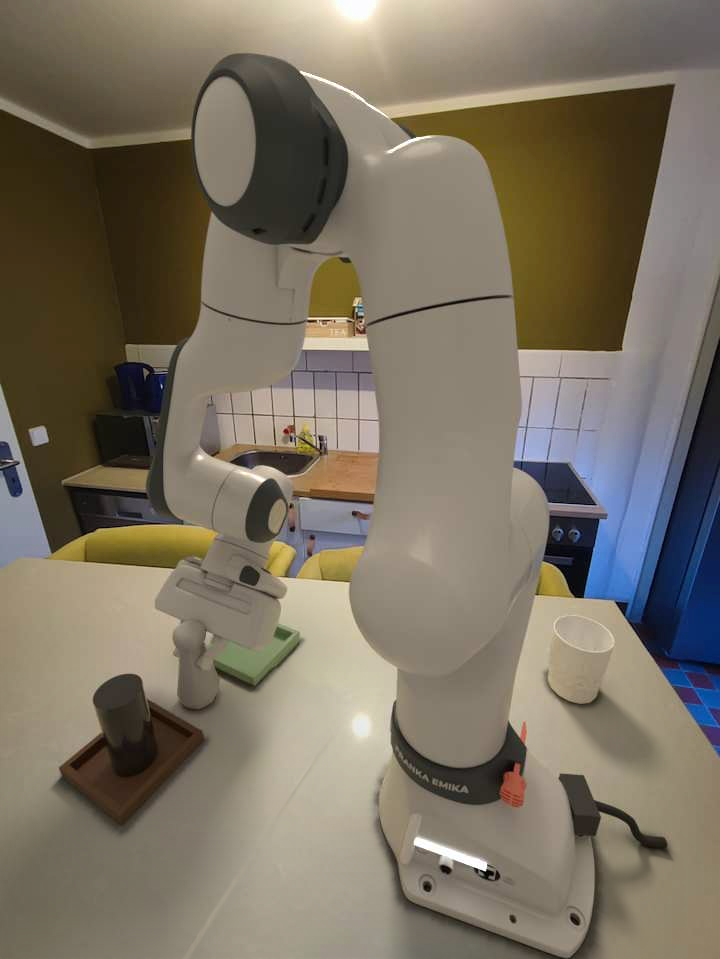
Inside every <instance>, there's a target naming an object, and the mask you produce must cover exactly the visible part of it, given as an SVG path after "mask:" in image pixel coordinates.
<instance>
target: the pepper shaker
mask: <svg viewBox="0 0 720 959" xmlns="http://www.w3.org/2000/svg"><path fill="white" fill-rule="evenodd" d="M147 699H148V698H147V694H146V689H145V685H144V681H143V679H142V678H141V676H139V675H138V674H135V673H122V674H118V675H116V676H113V677H111V678H110V679H108V680H106V681H104V682H103V683H102V684H100V685H99V687H98V688H97V689H96V690H95V691H94V694H93V696H92V704H93V707H94V711H95V715H96V718H97V721H98V724H99V727H100V731H101V732H102V735H103V738H104V742H105V745H106V748H107V752H108V755H109V759H110V762H111V765H112V769H113V771H114V773H115V774H116V775H118V776H120V777H131V776H135V775H137V774H139V773H141V772H143V771H144V770H145V769H147V768H148V767H149V766H150V765H151V764H152V763H153V761H154V760H155V758H156V756H157V753H158V744H157V740H156V736H155V732H154V728H153V723H152V719H151V715H150V711H149V707H148V702H147ZM101 732H100V733H101Z"/></svg>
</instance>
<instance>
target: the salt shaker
mask: <svg viewBox="0 0 720 959" xmlns="http://www.w3.org/2000/svg"><path fill="white" fill-rule="evenodd" d="M179 624H180V623H179ZM179 624H178V625H177V626H176V627H175V628H174V629H173V630H172V631H173V633H172V638H171V639H172V640H171V641H172V643H173V645H174V647H175V648H177V649H179V658H178V674H177V688H176V690H177V691H176V695H177V697H178V700H179V701H180V703H181V704H182V705H183V706H184V707H185V708H188V709H192V710H198V711H199V710H201V709H203V708H205V707H207V706H209V705H210V704H212V703H214V700H215V698H216V696H217V694H218V692H219V690H220V678H219V675H218V673H217V670H216V667H214V665H213V663H212V665H211V667H210V669H209V670H202V669H200V668H198V667H196V666H195V662H196V661H197V659H198V657H199V655H200V653H202V654H204V653H205V652H206V651H207V648H206V646H207V645H206V643H205V640H206V637H207V631H206V630H205V626H204V625H203V624H202V623H201V622H199V621H196V620H189V621H186V622H183V623H181V624H180V625H179Z"/></svg>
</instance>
